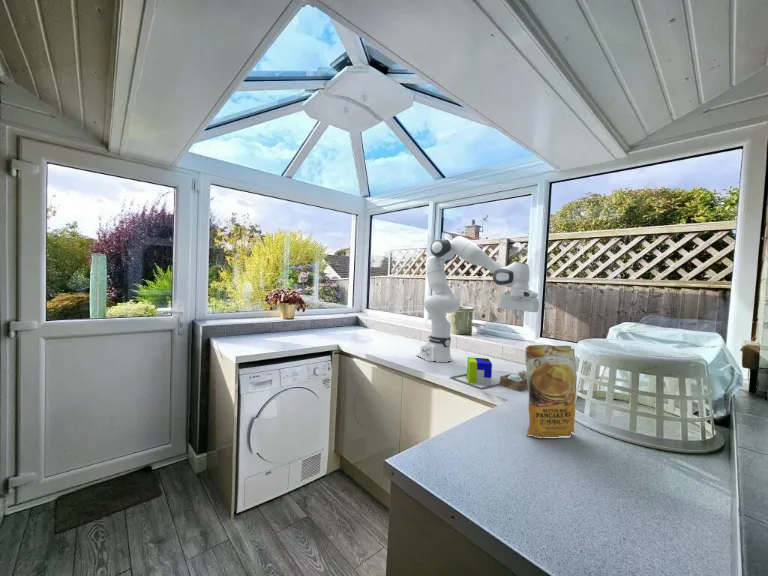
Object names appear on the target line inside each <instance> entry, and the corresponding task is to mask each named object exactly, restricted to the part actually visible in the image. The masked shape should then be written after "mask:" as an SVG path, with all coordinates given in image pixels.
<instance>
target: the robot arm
mask: <svg viewBox="0 0 768 576" xmlns="http://www.w3.org/2000/svg"><path fill="white" fill-rule="evenodd" d="M429 249H430V253H431V254H432V256H429V257H428V258H427V259H426V260H425V271H426V277H427V283H428V287H429V289H430V290H431V291H433V293H434V294H433V295H429V296H427V297H425V299H424V301H423V303H424V304H423V306H424V309H425V311H426V312H428V314H429V317H430V321H431V335H429V336H427V338H428V341H426V343H424V344H422V346H421V347H420V351H419V352H418V353H416V354H415V356H416V355H417V356H416V357H418V356H419V358H420V357H421V358H420V359H422V358H423V359H422V360H424V359H425V361H427V362H433V361H436V362H437V363H449V362H448V361H450V362H452V361H451V360H452V356H451V341H452V340H451V326H452V324H451V323H450V321H449V320H448V319H447V315H446V314H450V313H455V312H457V311H458V310H459V309H460V306H461V301H460V300H459V298H458V297H457V296H456V295H455V294H454V292H453V291H452V289H451V287H450V285H449V282H448V280H447V276H446V272H445V267H444V264H445V265H446V264H448V263H450V262H451V261H453V260H454V259H455V258H456V257H459V258H460V259H462V260H463V261H465V262H467V263H469V264H471V265H473V266H477V267H480V268H481V267H482V268H484V269H486V270H488V271H490V273H492V281H493V282H494V284H495V285H498V286H499V287H500V286H501V287H508V288H510V292H507V291H504V292H502V294H501V297H500V298H501V299H500V303H499V307H500V309H502V310H508V311H509V310H510V311H512V313H513V316H514V319H515V320H522V316H523V315H524V314H525V312H528V313H538V312H539V311H540V303H539V302H540V301H539V298H538V297H539V294H538V292H535V291H532V290H530V286H529V281H530V274H531V273H530V266H529V265H528V263H526V262H520V261H514V262H512V263H510V264H509V265H506V266H504V265H502V264H500V263H498V262H497V261H496V260H494V259H493V258H491V257H490V255H488V254H487V253H486V252H484V250H483V249H481V248H480V247H479V246H478V245H477V244H476V243H474V242H473V241H471V240H470V239H468V238H466V237H463V236H462V235H459V236H458V235H457V236H456V237H454V238H453V239H452V240H451V241H450V240H449V239H435V240H433V242H431V244H430V247H429ZM518 313H519V314H518ZM436 362H435V363H436Z"/></svg>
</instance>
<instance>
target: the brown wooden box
mask: <svg viewBox="0 0 768 576" xmlns="http://www.w3.org/2000/svg"><path fill="white" fill-rule="evenodd" d="M510 375H515V373H509V374H506V375H501V376H500V375H499V376H500V377H499V381H498V383H499V384H500V385H499V386H502V387H505V388H507V389H511V390H513V391H517V392H521V391H525V390H528V386H527V370H526V371H525V370H520V371H518V373H517V375H518V376H520V378H522V380H520V381H516V380H512V379H509V378H508V376H510Z"/></svg>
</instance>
